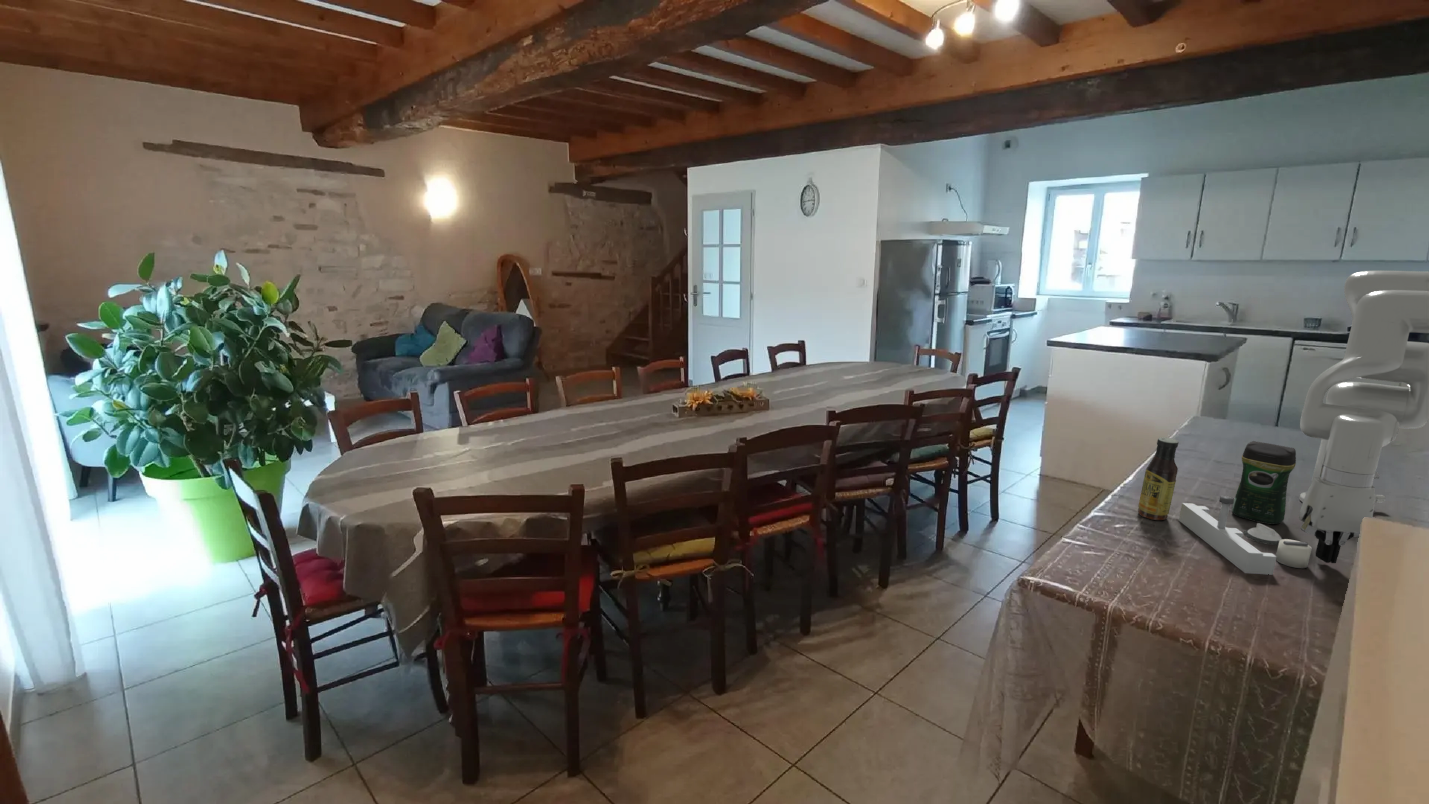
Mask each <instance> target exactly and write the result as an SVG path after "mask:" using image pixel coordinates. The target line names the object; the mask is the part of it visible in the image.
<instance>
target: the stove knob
mask: <svg viewBox="0 0 1429 804" xmlns="http://www.w3.org/2000/svg"><path fill="white" fill-rule="evenodd" d="M1243 533H1244V534H1243V536H1245V537H1247V538H1248V539H1250V540H1252V541H1253V542H1254V541H1255V542H1257V543H1262V544H1266V545H1274V546H1275V545H1276V546H1278V545H1279V541H1280V540H1282V539H1284V537H1282V535H1280V534H1279V533H1278V532H1277V531H1275V529H1273V528H1271V527H1269V526H1267V525H1265V524H1264V523H1261V522H1257V523H1256V527H1251V528H1248V529H1245V530H1244V531H1243Z"/></svg>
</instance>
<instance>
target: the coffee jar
mask: <svg viewBox="0 0 1429 804" xmlns="http://www.w3.org/2000/svg"><path fill="white" fill-rule="evenodd" d="M1241 462H1242V472H1241V477H1240V481H1239V484H1238V488H1237V491H1236V492H1235V496H1234V503H1233V504H1232V506H1231V513H1233V514H1234V515H1235V516H1237V517H1239V518H1243V519H1246V520H1250V521H1253V522H1257V523H1261V524H1267V525H1268V524H1269V525H1277V524H1278V525H1279V524H1280V523H1282V522H1283V521H1284V519H1285V514H1286V506H1287V505H1286V504H1287V489H1288V483H1289V479H1290V478H1289V477H1290V474H1291V473H1292V471H1293V470H1294V469H1295V467H1296V464H1297V453H1296V448H1294V447H1289V446H1285V445H1284V446H1283V445H1279V444H1274V443H1269V442H1268V443H1267V442H1261V441H1256V440H1251V441H1250V442H1248V443H1247V444H1246V446H1245V448H1244V451H1243V453H1242V455H1241Z"/></svg>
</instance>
